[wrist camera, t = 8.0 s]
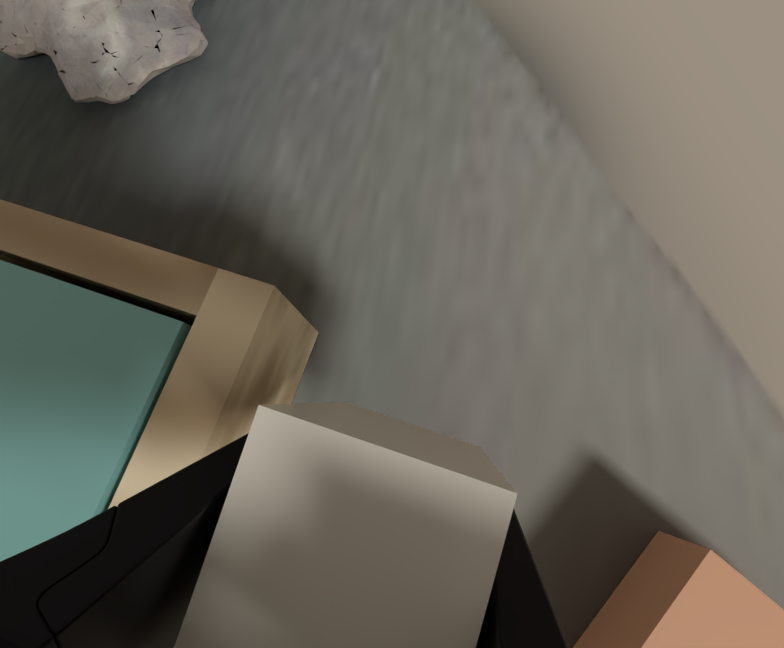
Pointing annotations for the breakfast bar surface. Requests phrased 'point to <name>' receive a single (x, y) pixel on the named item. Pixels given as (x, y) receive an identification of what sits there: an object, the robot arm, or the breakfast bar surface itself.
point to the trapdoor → (71, 400)
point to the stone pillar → (350, 536)
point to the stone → (102, 41)
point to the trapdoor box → (202, 346)
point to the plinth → (684, 604)
